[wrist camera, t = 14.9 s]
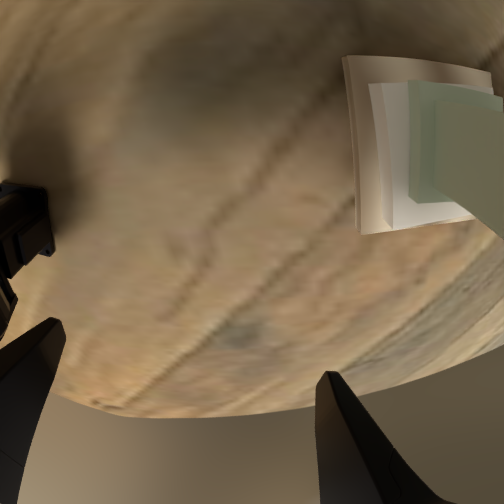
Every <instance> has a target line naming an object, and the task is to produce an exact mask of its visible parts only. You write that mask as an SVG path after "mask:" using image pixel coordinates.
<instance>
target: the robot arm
mask: <svg viewBox="0 0 504 504" xmlns="http://www.w3.org/2000/svg"><path fill="white" fill-rule="evenodd" d="M40 192H41V193H42V195H41V193H40ZM48 250H49V251H48ZM53 253H54V248H53V242H52V236H51V229H50V221H49V213H48V203H47V193H46V190H45V188H43V187H38V186H30V185H21V184H12V183H3V182H2V183H0V341H1V339H2V338H3V336H4V334H5V332H6V330H7V327H8V324H9V321H10V318H11V316H12V313H13V311H14V309H15V306H16V304H17V301H18V298H17V296H16V294H15V293H14V292H13V290H12V288H11V285H10V283H9V281H8V279H7V278H9V279H12V278H13V277H14V275H15V274H16V273H17V272H18V271H19V270H20V269H21V268H22V267H23V266H24V265H25V266H26V265H27V264H28V263H29V262H30V261H31V260H32V259H33V258H34V257H35V256H36V255H37V254H40V255H44V256H48V257H50V256H52V255H53ZM65 342H66V334H65V331H64V328H63V325H62V322H61V321H60V320H59V319H56V318H53V317H49V318H47V319H46V320H44V321H43V322H41V323H40V324H38V325H36V326H35V327H33V328H32V329H30V330H29V331H27V332H26V333H24V334H23V335H21V336H20V337H18V338H17V339H15V340H14V341H12V342H11V343H9V344H8V345H6V346H5V347H3V348H2V349H0V504H17V500H18V494H19V490H20V485H21V481H22V477H23V472H24V467H25V464H26V460H27V456H28V453H29V449H30V446H31V442H32V439H33V436H34V433H35V430H36V427H37V424H38V421H39V418H40V415H41V412H42V409H43V406H44V404H45V401H46V398H47V396H48V393H49V391H50V388H51V385H52V383H53V380H54V378H55V375H56V371H57V368H58V365H59V361H60V358H61V355H62V352H63V348H64V345H65ZM315 437H316V449H317V461H318V473H319V489H320V504H456V503H452V502H449V501H446V500H444V499H442V498H440V497H439V496H438V495H436V494H435V493H434V492H433V491H432V490H431V489H430V488H429V487H428V486H427V485H426V484H425V483H424V482H423V481H422V480H421V479H420V478H419V476H418V475H417V474H416V473H415V472H414V471H413V470H412V469H411V468H410V467H409V465H408V464H407V463H406V462H405V460H404V459H403V458H402V457H401V455H400V454H399V453H398V451H397V450H396V449H395V448H393V445H392V444H391V442H390V441H389V440H388V438H387V437H386V436H385V435H384V433H383V432H382V430H381V429H380V427H379V426H378V425H377V424H376V422H375V421H374V419H373V418H372V417H371V416H370V414H369V413H368V411H367V410H366V409H365V408H364V406H363V405H362V403H361V402H360V401H359V399H358V398H357V397H356V395H355V394H354V393H353V391H352V390H351V389H350V387H349V386H348V385H347V383H346V382H345V381H344V379H343V378H342V376H341V375H340V374H339V373H338V372H336V371H326V372H325V373H324V374H323V376H322V377H321V379H320V380H319V382H318V383H317V386H316V399H315Z"/></svg>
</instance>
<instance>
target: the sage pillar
mask: <svg viewBox="0 0 504 504" xmlns="http://www.w3.org/2000/svg"><path fill="white" fill-rule="evenodd" d="M408 91H409V108H410V177H409V195H408V197H410V198H411V199H412V200H413V201H415V202H416V203H417V204H421V203H439V202H456V203H457V204H459V205H460V206H461V207H463V208H464V209H465V210H467V211H468V212H470V213H471V214H472V215H474V216H475V217H476V218H477V219H479V220H480V221H481V222H483V223H484V224H485V225H486V226H488V227H489V228H490V229H491V230H493V231H494V232H495V233H496V234H497V235H499V236H500V237H501V238H502V239H503V240H504V113H503V97H499V96H496V95H492V94H488V93H484V92H480V91H476V90H472V89H467V88H462V87H457V86H452V85H447V84H441V83H435V82H428V81H421V80H408Z"/></svg>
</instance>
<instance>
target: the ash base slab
mask: <svg viewBox="0 0 504 504" xmlns="http://www.w3.org/2000/svg"><path fill="white" fill-rule="evenodd" d="M341 59H342V65H343V71H344V78H345V85H346V92H347V100H348V108H349V117H350V127H351V138H352V150H353V165H354V184H355V222H356V229H357V230H358V232H359V233H360V235H365V234H372V233H379V232H386V231H394V230H393V229H392V228H391V227H390V226H389V225H388V224H387V222H386V221H385V220H384V219H383V218H382V202H381V184H380V170H379V159H378V149H377V140H376V131H375V124H374V117H373V110H372V103H371V97H370V92H369V86H368V84H372V83H398V82H408V80H421V81H428V82H435V83H450V84H464V85H474V86H482V87H489V88H492V80H491V73H490V72H486V71H482V70H477V69H473V68H468V67H464V66H459V65H453V64H448V63H442V62H435V61H428V60H420V59H411V58H400V57H386V56H358V55H347V56H344V57H342V58H341ZM473 219H477V218H476V217H475V216H474V215H467V216H462V217H457V218H452V219H447V220H442V221H437V222H433V223H428V224H423V225H418V226H413V227H408V228H415V227H422V226H430V225H437V224H444V223H451V222H458V221H466V220H473ZM408 228H403V229H408ZM397 230H401V229H397Z"/></svg>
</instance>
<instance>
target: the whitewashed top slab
mask: <svg viewBox="0 0 504 504" xmlns="http://www.w3.org/2000/svg"><path fill="white" fill-rule="evenodd" d="M441 84H447V85H452V86H457V87H462V88H467V89H472V90H476V91H480V92H484V93H488V94H492V95H494V93H493V88H489V87H482V86H474V85H464V84H450V83H441ZM368 86H369V92H370V97H371V103H372V110H373V117H374V124H375V131H376V140H377V149H378V159H379V170H380V184H381V202H382V218H383V219H384V220H385V221H386V222H387V224H388V225H389V226H390V227H391V228H392V229H393V230H397V229H403V228H408V227H413V226H418V225H423V224H428V223H433V222H437V221H442V220H447V219H452V218H457V217H462V216H467V215H472V214H471V213H470V212H468V211H467V210H465V209H464V208H463V207H461V206H460V205H459V204H457V203H456V202H439V203H421V204H417V203H416V202H415V201H413V200H412V199H411V198H410V197H408V195H409V177H410V108H409V91H408V82H398V83H372V84H368Z"/></svg>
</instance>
